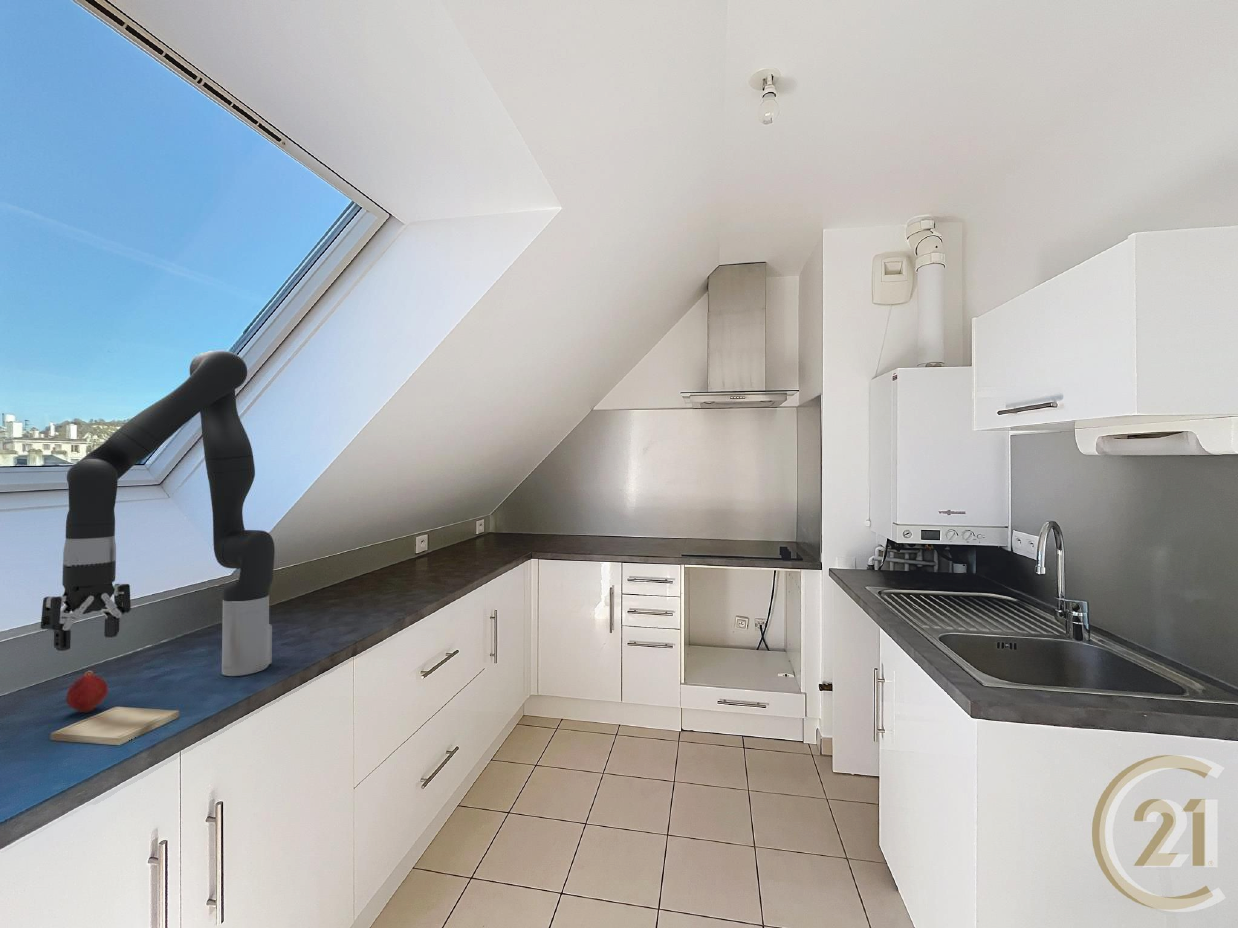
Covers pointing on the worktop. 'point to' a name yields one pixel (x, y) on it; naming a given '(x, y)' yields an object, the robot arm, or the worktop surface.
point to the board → (115, 725)
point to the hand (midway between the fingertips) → (87, 643)
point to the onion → (87, 692)
